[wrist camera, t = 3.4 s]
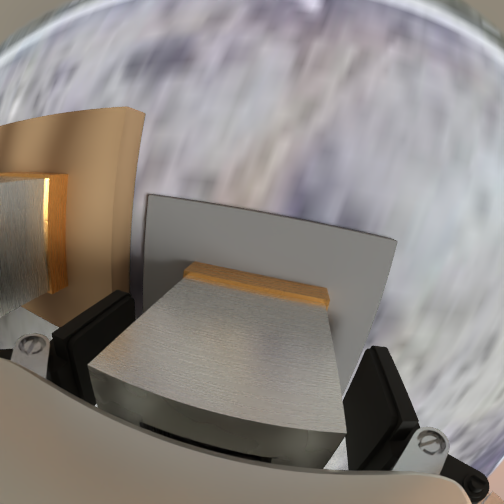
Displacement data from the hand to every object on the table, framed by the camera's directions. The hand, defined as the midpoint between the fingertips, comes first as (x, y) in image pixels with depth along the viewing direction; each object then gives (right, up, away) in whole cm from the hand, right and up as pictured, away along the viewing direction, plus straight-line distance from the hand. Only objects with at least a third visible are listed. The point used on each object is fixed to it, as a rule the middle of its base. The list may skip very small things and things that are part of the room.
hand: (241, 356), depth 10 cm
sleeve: (0, 0, +2) cm, 2 cm away
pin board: (-15, +6, +3) cm, 16 cm away
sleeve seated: (-11, +5, +1) cm, 12 cm away
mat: (0, +1, +2) cm, 2 cm away
